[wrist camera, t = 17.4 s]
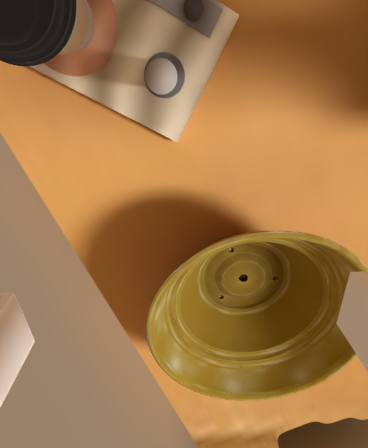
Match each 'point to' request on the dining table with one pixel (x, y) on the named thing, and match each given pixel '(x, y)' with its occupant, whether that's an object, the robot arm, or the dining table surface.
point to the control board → (148, 58)
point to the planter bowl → (254, 316)
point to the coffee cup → (43, 29)
